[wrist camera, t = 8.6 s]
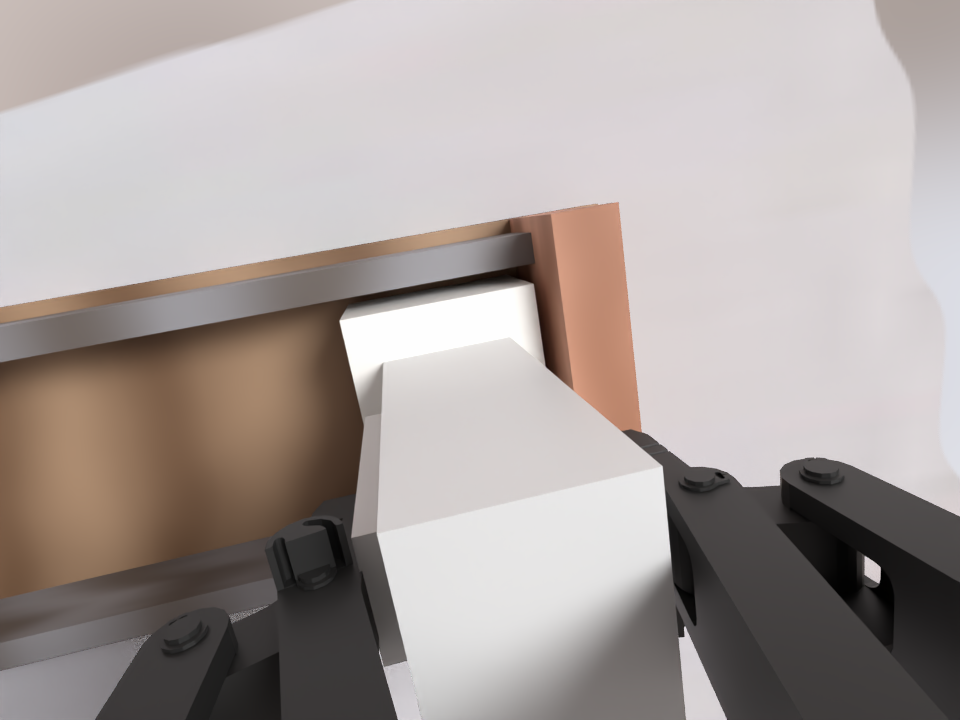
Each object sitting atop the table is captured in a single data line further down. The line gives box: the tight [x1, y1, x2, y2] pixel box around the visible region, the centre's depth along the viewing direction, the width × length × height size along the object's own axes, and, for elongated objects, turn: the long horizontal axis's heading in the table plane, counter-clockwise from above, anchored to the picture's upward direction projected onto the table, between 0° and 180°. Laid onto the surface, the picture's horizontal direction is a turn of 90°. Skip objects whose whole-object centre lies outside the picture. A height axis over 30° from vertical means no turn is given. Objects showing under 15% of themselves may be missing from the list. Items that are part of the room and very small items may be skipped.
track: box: [0, 202, 642, 671], centre depth 18 cm, size 36×12×7 cm, turn 100°
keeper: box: [340, 275, 686, 720], centre depth 15 cm, size 6×8×14 cm
